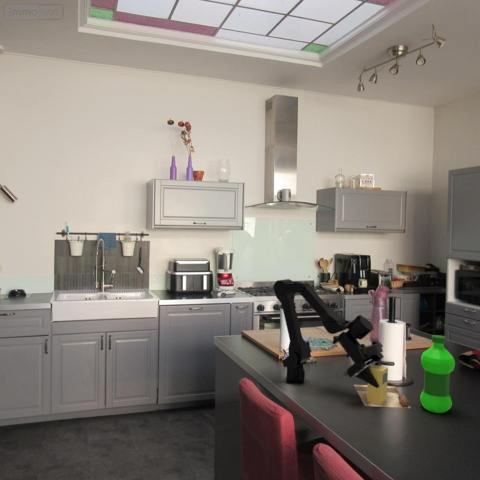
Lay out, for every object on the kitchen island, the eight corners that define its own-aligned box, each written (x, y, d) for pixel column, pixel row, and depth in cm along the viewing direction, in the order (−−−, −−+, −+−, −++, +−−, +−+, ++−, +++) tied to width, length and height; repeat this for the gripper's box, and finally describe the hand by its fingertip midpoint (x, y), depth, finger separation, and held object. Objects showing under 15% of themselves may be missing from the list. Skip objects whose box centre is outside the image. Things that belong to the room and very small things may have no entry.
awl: (402, 407, 164) (402, 399, 164) (394, 396, 174) (394, 389, 174) (409, 407, 164) (409, 400, 164) (401, 396, 174) (401, 389, 174)
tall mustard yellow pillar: (366, 401, 169) (368, 367, 168) (372, 397, 173) (374, 364, 172) (381, 405, 166) (382, 371, 165) (387, 400, 169) (388, 367, 169)
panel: (364, 408, 164) (364, 405, 164) (353, 386, 185) (353, 384, 185) (410, 410, 164) (410, 408, 164) (394, 388, 185) (394, 386, 185)
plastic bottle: (449, 420, 156) (453, 342, 155) (415, 412, 162) (418, 337, 161) (455, 410, 165) (458, 336, 163) (422, 403, 170) (425, 331, 169)
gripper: (356, 338, 163) (387, 379, 157) (379, 329, 178) (408, 366, 172) (334, 357, 168) (363, 397, 162) (358, 347, 183) (385, 383, 177)
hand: (381, 385), depth 168 cm, fingers closed on tall mustard yellow pillar, 5 cm apart
